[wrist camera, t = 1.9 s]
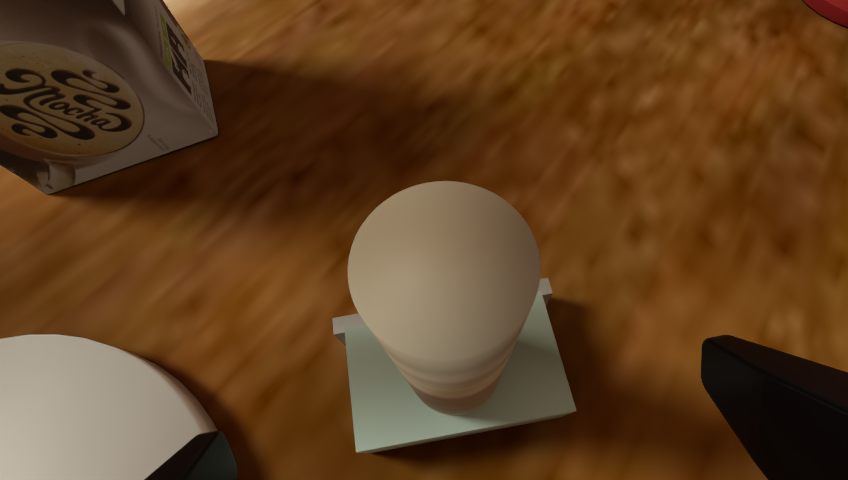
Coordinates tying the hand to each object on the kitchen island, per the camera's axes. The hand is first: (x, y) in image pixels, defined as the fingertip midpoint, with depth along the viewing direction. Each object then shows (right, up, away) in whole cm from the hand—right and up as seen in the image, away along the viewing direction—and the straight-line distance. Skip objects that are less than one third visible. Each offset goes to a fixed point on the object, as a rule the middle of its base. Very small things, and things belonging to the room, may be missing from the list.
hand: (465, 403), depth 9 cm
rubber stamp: (0, -2, +9) cm, 9 cm away
